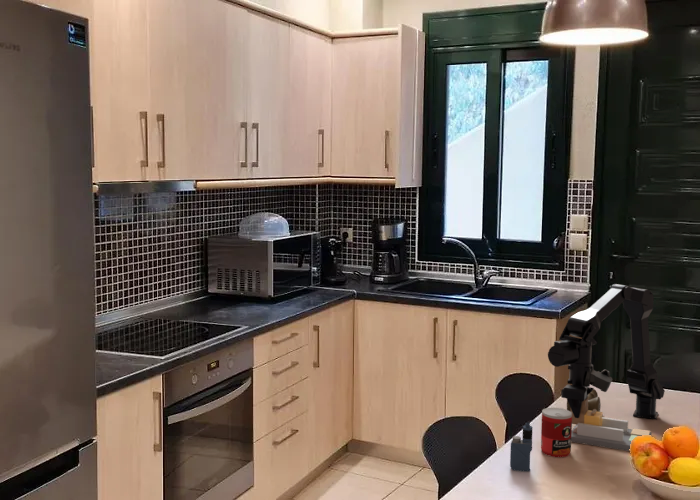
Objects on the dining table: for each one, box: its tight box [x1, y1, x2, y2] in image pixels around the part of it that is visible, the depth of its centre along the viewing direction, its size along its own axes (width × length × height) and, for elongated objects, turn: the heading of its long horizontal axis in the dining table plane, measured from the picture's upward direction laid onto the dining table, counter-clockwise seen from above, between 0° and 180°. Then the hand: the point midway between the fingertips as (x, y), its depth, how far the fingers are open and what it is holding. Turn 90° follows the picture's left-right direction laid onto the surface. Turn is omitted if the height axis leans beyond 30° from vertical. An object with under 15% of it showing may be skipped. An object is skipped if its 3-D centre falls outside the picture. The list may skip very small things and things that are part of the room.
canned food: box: [540, 407, 573, 458], centre depth 211 cm, size 8×8×11 cm
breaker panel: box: [571, 416, 652, 452], centre depth 222 cm, size 14×20×4 cm
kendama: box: [566, 388, 602, 412], centre depth 247 cm, size 6×10×20 cm
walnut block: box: [570, 397, 588, 425], centre depth 225 cm, size 4×4×7 cm
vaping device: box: [509, 422, 533, 472], centre depth 199 cm, size 3×5×12 cm, turn 78°
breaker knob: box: [584, 409, 604, 426], centre depth 223 cm, size 5×4×6 cm
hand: (578, 415), depth 225 cm, fingers closed on walnut block, 4 cm apart
